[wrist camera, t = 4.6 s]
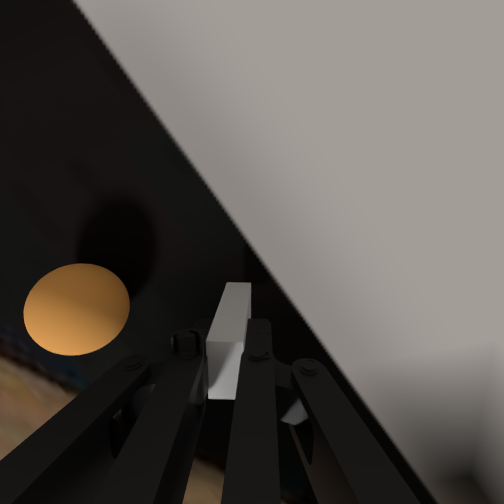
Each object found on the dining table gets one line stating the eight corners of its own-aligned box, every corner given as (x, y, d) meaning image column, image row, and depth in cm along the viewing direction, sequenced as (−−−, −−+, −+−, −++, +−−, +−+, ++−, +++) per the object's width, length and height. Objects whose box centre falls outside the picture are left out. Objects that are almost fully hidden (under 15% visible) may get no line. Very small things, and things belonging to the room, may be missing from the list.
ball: (139, 253, 19) (91, 281, 14) (147, 326, 20) (106, 377, 15) (61, 253, 19) (-16, 281, 14) (74, 325, 21) (8, 375, 15)
